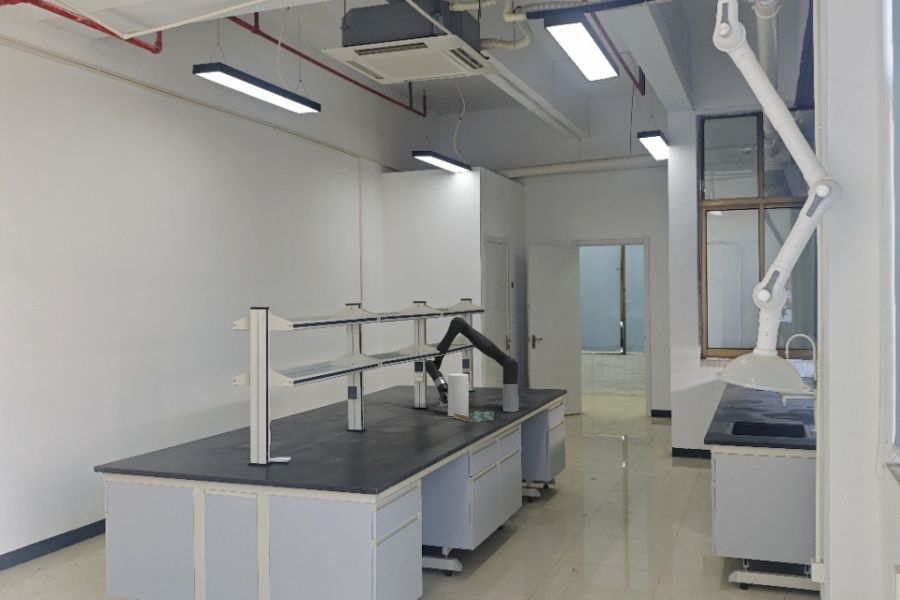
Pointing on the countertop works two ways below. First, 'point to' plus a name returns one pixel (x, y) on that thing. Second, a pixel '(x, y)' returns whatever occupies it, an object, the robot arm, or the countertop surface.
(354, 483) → the countertop surface
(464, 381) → the cylinder
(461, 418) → the cradle
